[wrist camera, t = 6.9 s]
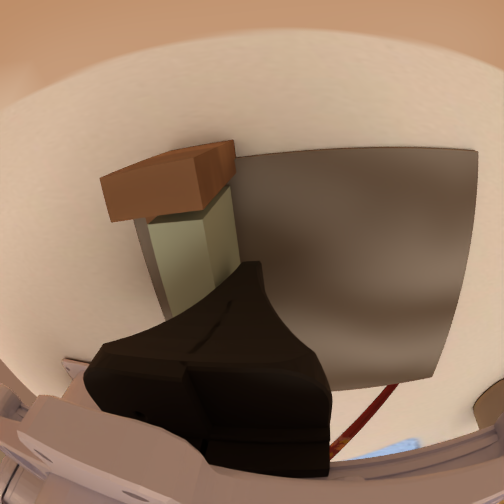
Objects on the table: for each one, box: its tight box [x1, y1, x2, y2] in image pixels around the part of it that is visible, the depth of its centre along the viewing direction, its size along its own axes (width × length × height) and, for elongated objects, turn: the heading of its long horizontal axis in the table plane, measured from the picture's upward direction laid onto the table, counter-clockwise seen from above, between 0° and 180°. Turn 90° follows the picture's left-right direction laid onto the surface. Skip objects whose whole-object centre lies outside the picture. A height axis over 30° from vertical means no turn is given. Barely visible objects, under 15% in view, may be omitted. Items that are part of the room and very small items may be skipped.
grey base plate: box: [100, 140, 478, 391], centre depth 12 cm, size 16×17×6 cm
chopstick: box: [330, 383, 399, 460], centre depth 23 cm, size 2×24×1 cm, turn 169°
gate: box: [147, 186, 241, 317], centre depth 12 cm, size 10×2×4 cm, turn 6°
